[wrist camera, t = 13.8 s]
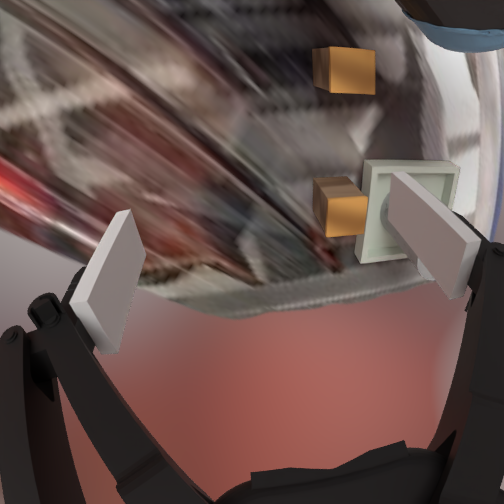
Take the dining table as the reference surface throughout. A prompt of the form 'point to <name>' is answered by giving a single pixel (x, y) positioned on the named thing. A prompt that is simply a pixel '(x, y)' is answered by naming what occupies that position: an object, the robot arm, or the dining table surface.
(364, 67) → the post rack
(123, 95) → the dining table surface
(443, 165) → the tray
